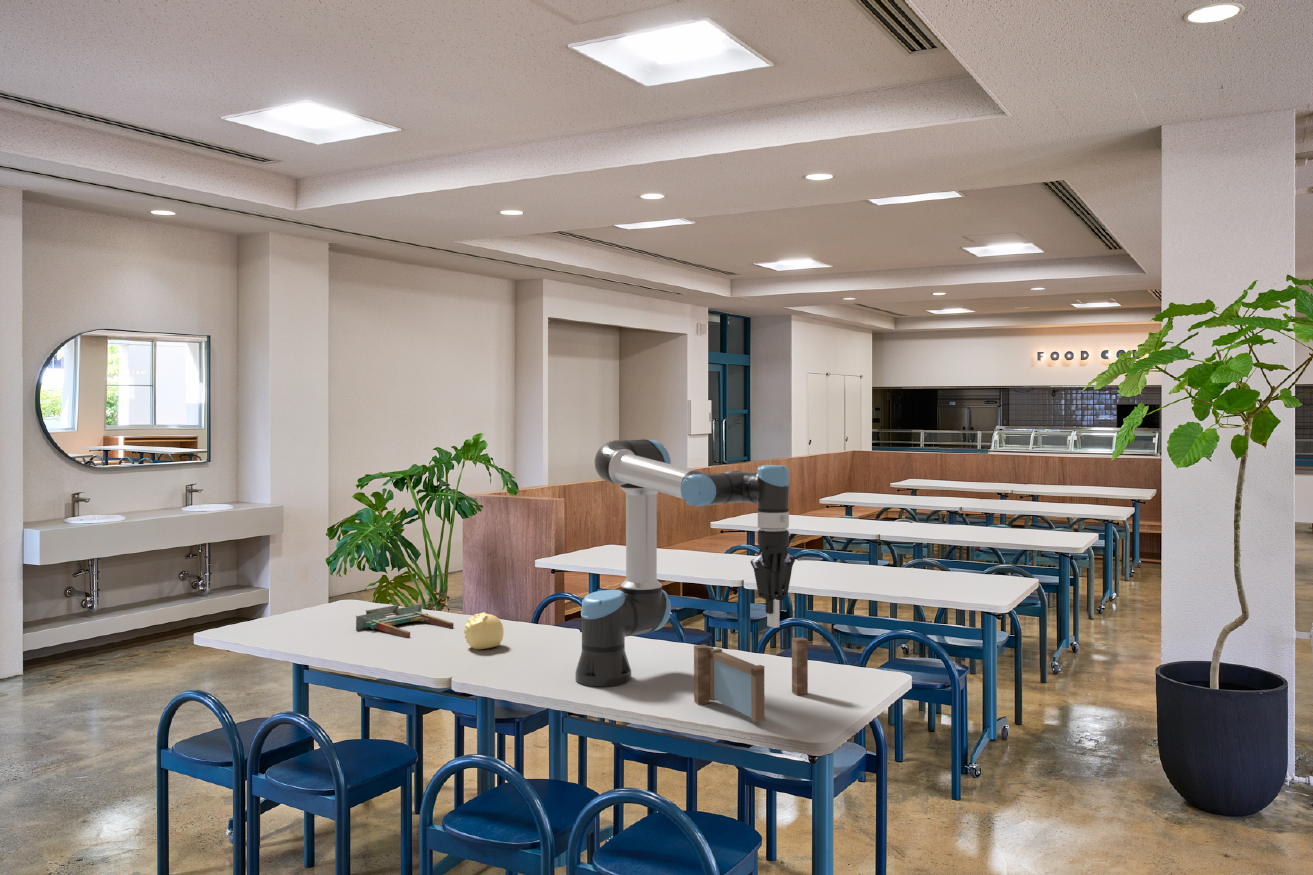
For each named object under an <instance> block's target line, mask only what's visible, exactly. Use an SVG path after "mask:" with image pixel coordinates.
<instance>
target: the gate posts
mask: <svg viewBox="0 0 1313 875" xmlns="http://www.w3.org/2000/svg"><path fill="white" fill-rule="evenodd" d="M808 641H809V640H808V639H806V638H805V637H803V636H802V637H792V638H791V693H792V694H794V695H795V696H806V695H808V694H809V693H808V692H809V691H808V690H809V688H808V687H809V685H808V683H809V682H808V676H809V674H808V673H809V672H808V665H809V664H808V663H809V658H808V652H809V650H808V645H809V644H808ZM710 649H715V647H713V646H708V645H706V644H697V645H696V644H695V645H693V663H694V664H693V691H694V693H693V701H694V703H696V704H697V705H698V706H699V705H700V704H701V705H708V704H707V703H711V702H710V701H711V700H710Z"/></svg>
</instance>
